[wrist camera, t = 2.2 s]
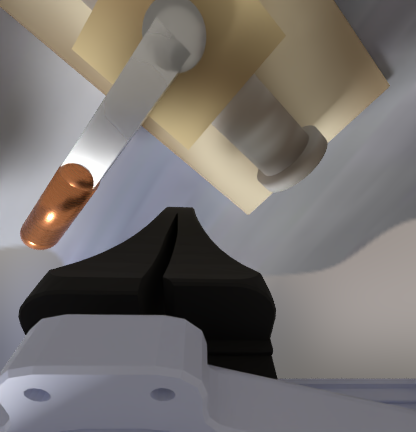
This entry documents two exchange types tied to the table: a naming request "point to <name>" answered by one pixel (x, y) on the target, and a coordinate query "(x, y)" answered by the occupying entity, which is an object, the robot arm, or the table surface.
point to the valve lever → (119, 116)
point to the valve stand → (230, 82)
